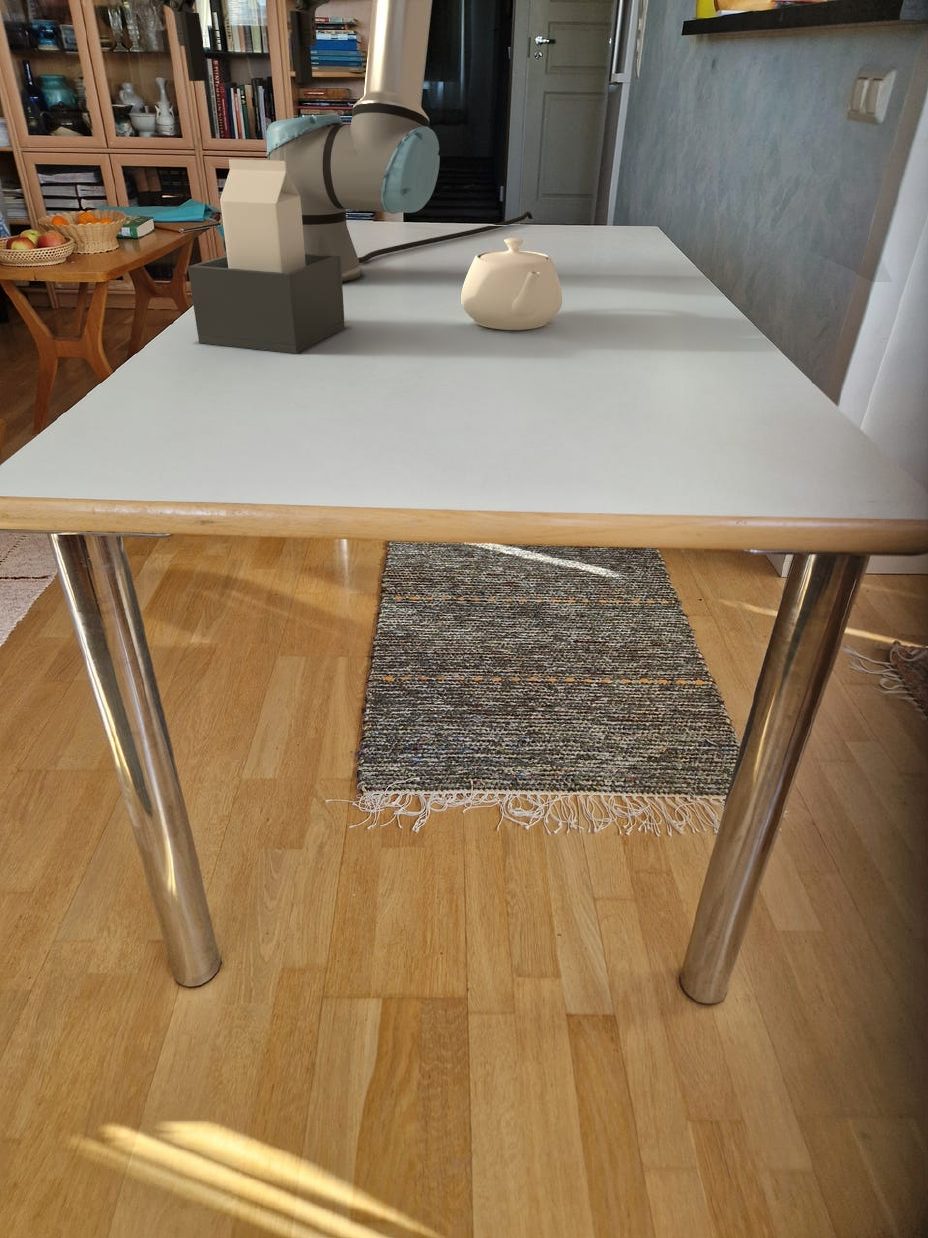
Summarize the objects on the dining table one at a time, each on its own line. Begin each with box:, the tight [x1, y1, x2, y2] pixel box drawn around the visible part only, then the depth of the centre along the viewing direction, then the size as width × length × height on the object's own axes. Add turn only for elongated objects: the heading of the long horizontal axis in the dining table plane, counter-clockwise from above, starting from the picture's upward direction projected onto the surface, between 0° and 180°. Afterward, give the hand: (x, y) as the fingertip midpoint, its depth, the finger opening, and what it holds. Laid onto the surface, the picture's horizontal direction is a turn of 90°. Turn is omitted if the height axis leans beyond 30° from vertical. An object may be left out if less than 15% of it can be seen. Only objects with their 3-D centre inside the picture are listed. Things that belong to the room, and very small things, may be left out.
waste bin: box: [187, 253, 346, 355], centre depth 108 cm, size 14×14×9 cm
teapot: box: [460, 237, 563, 331], centre depth 115 cm, size 22×14×11 cm, turn 12°
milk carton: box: [219, 158, 306, 273], centre depth 105 cm, size 7×7×19 cm
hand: (250, 81), depth 98 cm, fingers open, 13 cm apart
